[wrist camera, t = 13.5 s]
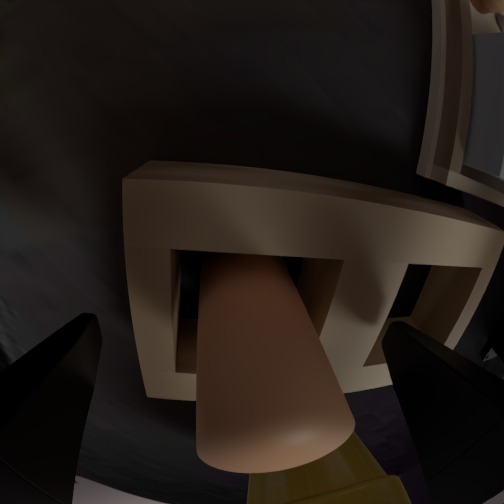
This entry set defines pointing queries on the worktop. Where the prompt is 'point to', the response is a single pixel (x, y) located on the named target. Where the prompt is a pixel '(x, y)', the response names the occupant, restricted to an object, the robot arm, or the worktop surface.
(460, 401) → the robot arm
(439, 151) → the shallow beige tray
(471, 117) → the cover
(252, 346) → the peg
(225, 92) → the worktop surface
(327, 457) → the plant pot
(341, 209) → the socket board
